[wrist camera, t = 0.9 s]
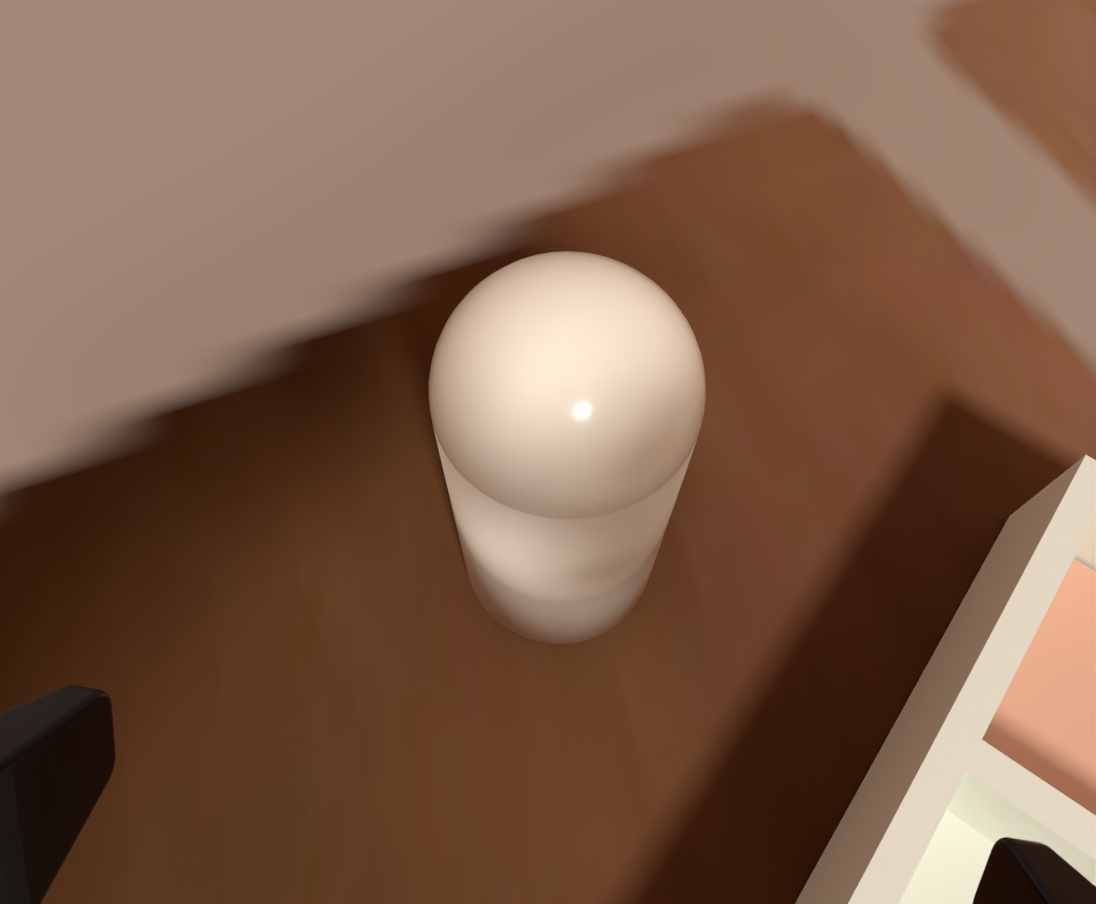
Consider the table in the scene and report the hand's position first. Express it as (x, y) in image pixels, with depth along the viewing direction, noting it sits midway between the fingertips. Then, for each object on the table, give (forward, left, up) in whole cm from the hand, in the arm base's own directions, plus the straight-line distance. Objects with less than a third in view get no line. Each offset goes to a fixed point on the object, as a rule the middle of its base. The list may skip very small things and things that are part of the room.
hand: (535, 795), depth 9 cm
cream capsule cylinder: (+6, +4, -14) cm, 16 cm away
